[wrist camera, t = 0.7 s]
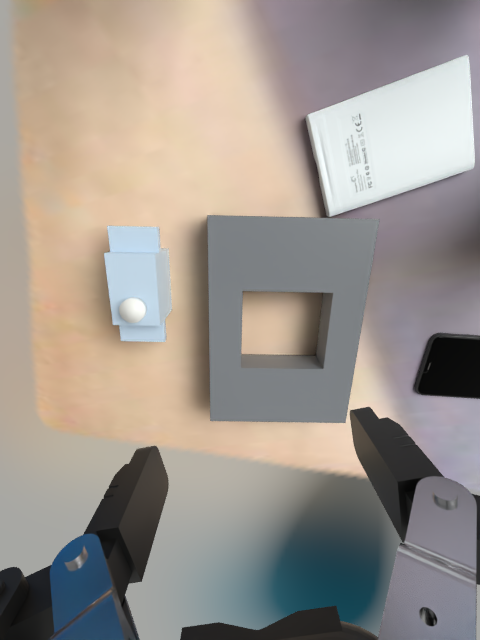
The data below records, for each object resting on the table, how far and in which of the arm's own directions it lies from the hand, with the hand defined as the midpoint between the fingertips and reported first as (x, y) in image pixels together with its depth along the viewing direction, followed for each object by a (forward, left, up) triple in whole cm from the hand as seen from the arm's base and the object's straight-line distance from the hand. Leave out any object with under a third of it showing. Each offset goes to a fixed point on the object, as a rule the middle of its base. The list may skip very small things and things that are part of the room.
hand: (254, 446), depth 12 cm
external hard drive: (-15, +12, -19) cm, 27 cm away
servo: (-3, -9, -19) cm, 21 cm away
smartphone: (+6, +27, -19) cm, 33 cm away
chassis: (+1, +4, -19) cm, 19 cm away
